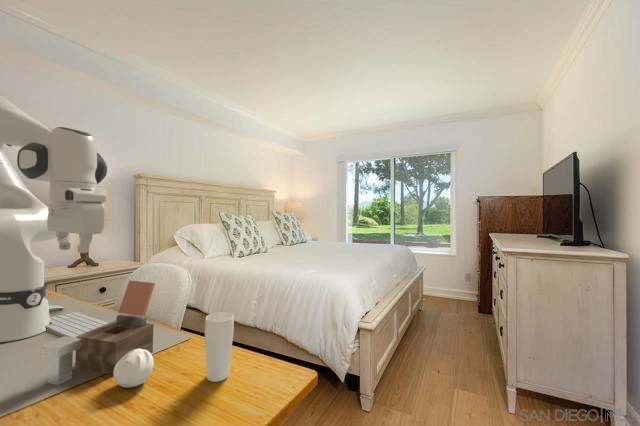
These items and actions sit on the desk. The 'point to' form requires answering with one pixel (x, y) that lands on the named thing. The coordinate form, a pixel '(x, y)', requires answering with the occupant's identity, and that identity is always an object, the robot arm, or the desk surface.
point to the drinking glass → (218, 345)
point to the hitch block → (113, 343)
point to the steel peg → (60, 358)
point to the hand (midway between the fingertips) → (73, 251)
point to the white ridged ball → (133, 368)
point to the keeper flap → (136, 298)
